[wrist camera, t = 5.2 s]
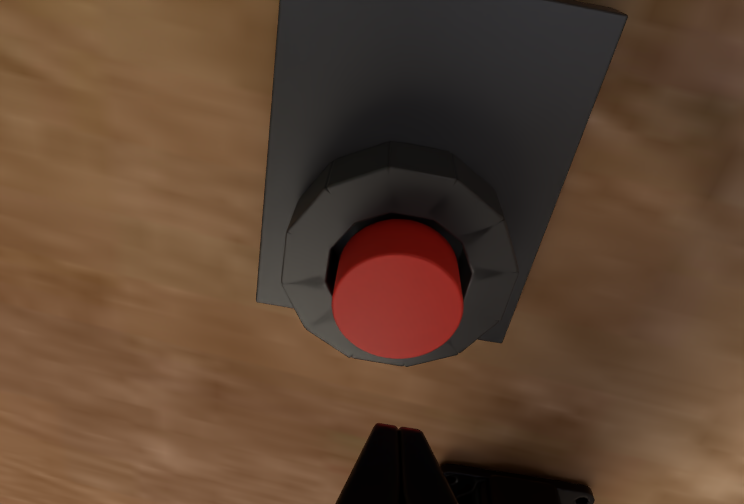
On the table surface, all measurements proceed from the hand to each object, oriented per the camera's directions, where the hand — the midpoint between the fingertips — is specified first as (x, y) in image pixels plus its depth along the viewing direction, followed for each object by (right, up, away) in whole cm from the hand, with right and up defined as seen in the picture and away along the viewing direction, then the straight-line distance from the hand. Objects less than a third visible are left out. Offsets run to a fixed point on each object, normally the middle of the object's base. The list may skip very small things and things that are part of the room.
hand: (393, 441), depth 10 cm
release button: (0, +3, +5) cm, 6 cm away
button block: (+1, +6, +6) cm, 9 cm away
